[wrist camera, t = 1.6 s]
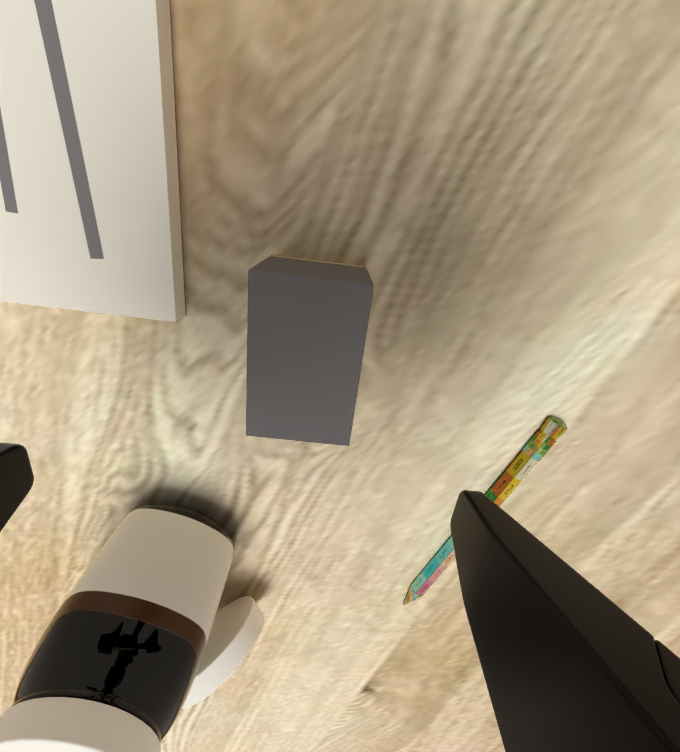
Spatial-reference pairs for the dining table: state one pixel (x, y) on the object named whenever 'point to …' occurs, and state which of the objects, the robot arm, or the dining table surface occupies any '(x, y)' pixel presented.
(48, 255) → the board
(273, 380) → the block
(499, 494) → the pencil
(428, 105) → the dining table surface
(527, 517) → the dining table surface
